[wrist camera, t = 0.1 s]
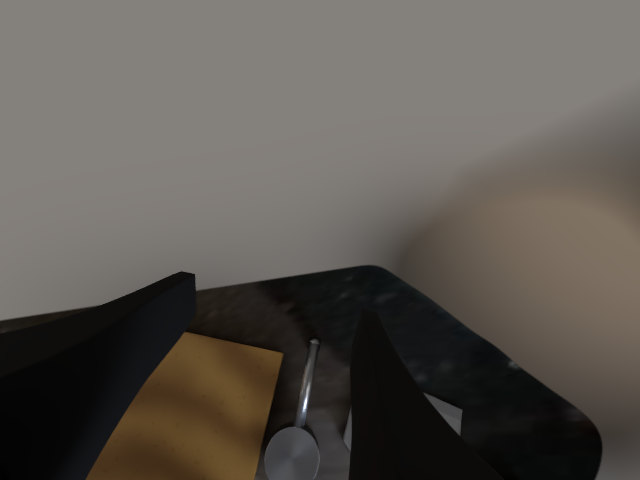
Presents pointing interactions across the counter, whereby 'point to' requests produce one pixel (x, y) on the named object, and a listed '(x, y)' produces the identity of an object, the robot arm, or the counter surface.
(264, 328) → the counter surface
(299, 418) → the grey disc-end rod
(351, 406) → the robot arm
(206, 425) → the chopping board
